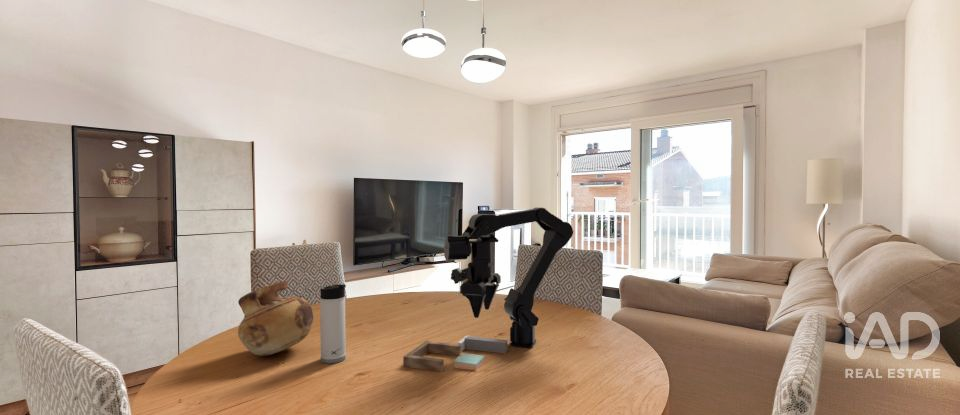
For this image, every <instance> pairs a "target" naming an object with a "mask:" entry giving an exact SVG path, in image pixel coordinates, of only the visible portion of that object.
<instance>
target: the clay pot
mask: <svg viewBox="0 0 960 415" xmlns="http://www.w3.org/2000/svg"><path fill="white" fill-rule="evenodd" d="M288 285H289V284H288V282H287V281H286V280H282V281H279V282H274V283H273V284H270V285H267V286H263V287H261V288H258V289H256V290H253V291H251V292H248V293H246V294H245V295H242V296H241V297H240V298H239V299H238V302H237V303H238V305H239V307H240V308H241V310H242V313H243V315H244V316H243V319H242V320H241V322H240V323H239V324H238V329H237V336H238V338H239V340H240V342H241V344H242V345H243V347H245V348H246V349H247V350H248V351H249V352H250V353H252V354H254V355H256V356H262V357H265V356H272V355H274V354H277V353H280V352H283V351H285V350H286V349H289V348H291V347H294V346H295V345H297V344H299V343H300V342H302V341H303V340H304V339H306V337H308V335H309V333H310V332H311V331H312V327H313V323H314V312H313V311H314V310H313V308H312V306H311V304H310V303H309V302H308V301H307V300H306V299H305V298H303V297H301V296H300V297H299V296H286V297H281V296H280V295H279V293H280V292H282V291H285V290H286V289H288V288H289V286H288Z"/></svg>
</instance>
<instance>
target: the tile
mask: <svg viewBox="0 0 960 415" xmlns="http://www.w3.org/2000/svg"><path fill="white" fill-rule="evenodd" d="M484 363H485V356H484V355H481V354H480V355H479V354H472V353H471V354H470V353H461V354H460V355H459V356H458V357H456V359H455V360H454V361H453V365H454V366H453V368H455V369H464V370H468V371H469V370H470V371H478V369H479V368H480V367H481V366H482V365H483V364H484Z"/></svg>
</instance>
